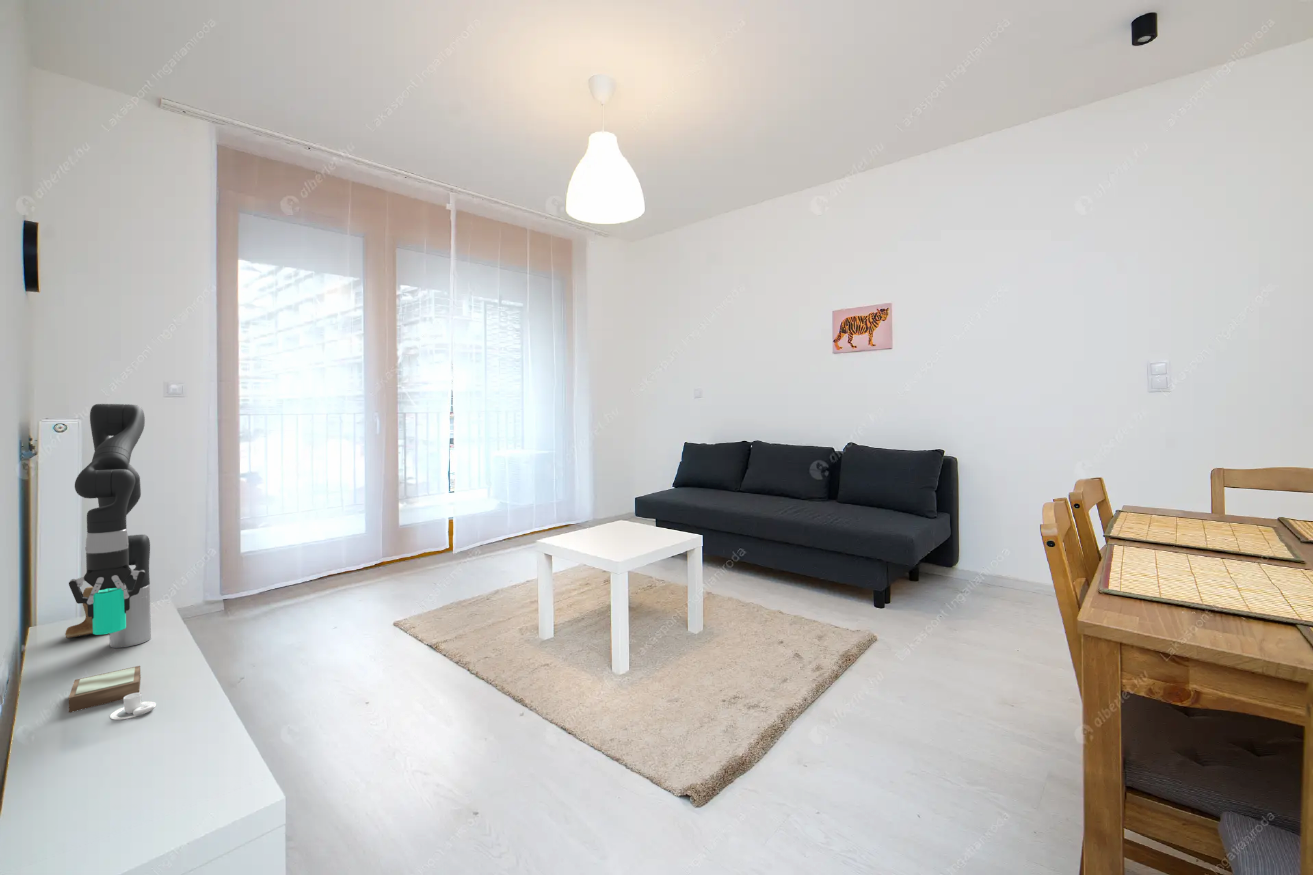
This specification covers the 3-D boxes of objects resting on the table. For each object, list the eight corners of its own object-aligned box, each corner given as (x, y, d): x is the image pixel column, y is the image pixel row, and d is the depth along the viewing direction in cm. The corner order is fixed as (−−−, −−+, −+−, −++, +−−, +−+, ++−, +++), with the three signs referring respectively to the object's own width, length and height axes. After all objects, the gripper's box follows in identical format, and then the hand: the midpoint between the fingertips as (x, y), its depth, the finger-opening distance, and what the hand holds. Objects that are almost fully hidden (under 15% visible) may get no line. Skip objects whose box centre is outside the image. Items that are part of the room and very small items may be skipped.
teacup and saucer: (158, 713, 129) (157, 696, 129) (110, 727, 123) (110, 709, 123) (154, 699, 135) (154, 683, 135) (109, 712, 129) (108, 695, 129)
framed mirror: (75, 693, 137) (74, 678, 137) (140, 678, 145) (140, 664, 145) (68, 712, 128) (68, 697, 128) (139, 695, 136) (138, 680, 136)
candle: (133, 626, 140) (131, 580, 139) (107, 635, 134) (106, 587, 133) (112, 625, 140) (111, 579, 140) (85, 634, 134) (84, 586, 134)
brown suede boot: (129, 619, 186) (128, 576, 186) (133, 628, 178) (132, 584, 178) (64, 632, 175) (63, 586, 174) (65, 643, 167) (64, 595, 166)
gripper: (146, 541, 144) (148, 605, 144) (67, 550, 134) (69, 618, 135) (146, 546, 139) (147, 612, 139) (63, 555, 129) (65, 626, 129)
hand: (109, 614), depth 137 cm, fingers closed on candle, 4 cm apart
